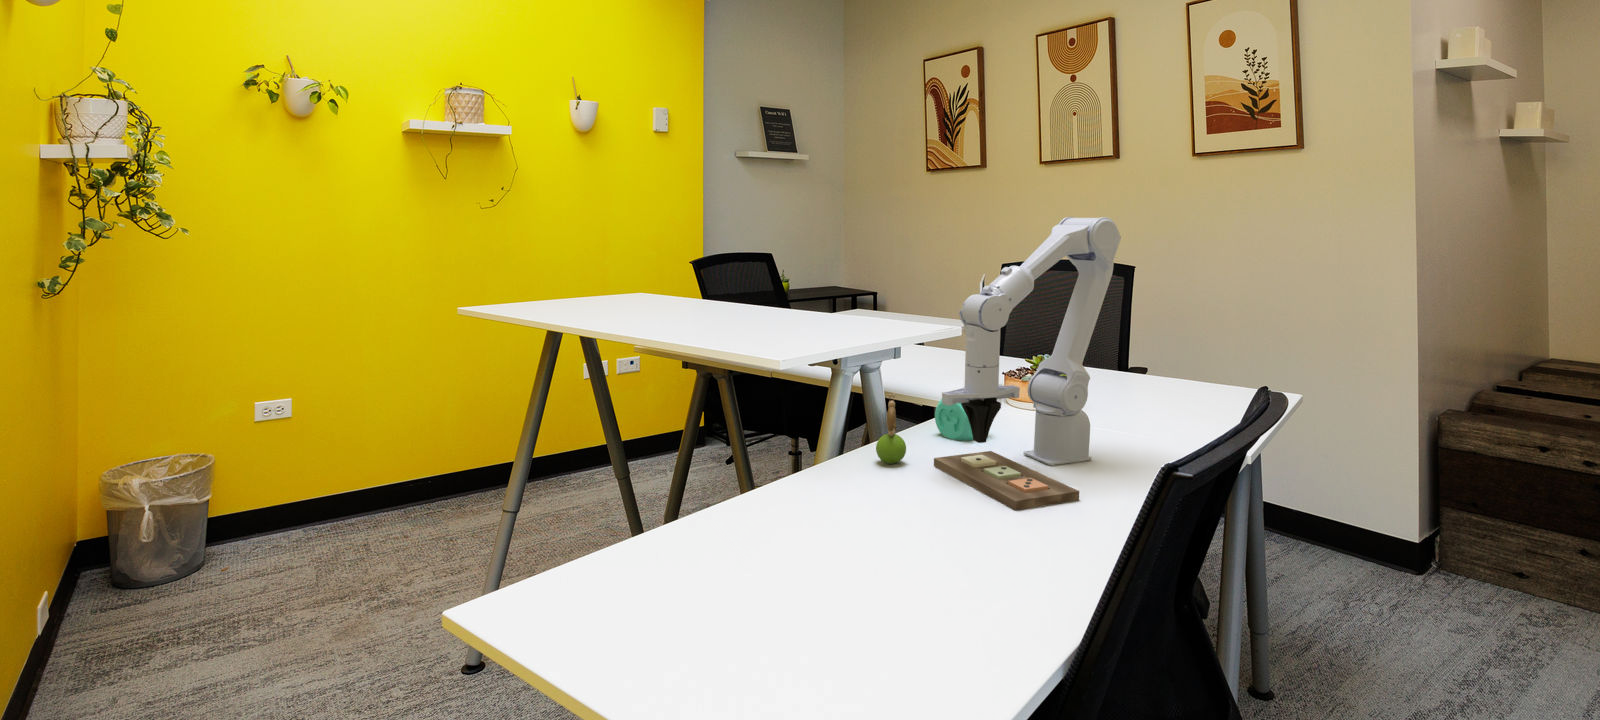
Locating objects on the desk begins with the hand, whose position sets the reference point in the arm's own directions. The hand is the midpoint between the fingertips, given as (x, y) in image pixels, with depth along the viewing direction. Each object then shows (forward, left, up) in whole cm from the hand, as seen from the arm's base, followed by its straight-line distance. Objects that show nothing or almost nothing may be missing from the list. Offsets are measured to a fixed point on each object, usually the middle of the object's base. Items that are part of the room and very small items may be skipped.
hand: (979, 441), depth 144 cm
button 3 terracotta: (0, +14, -6) cm, 15 cm away
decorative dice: (-10, -21, -6) cm, 24 cm away
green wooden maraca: (+12, -10, -6) cm, 17 cm away
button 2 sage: (0, +7, -5) cm, 9 cm away
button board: (0, +7, -5) cm, 9 cm away
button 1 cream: (0, 0, -6) cm, 6 cm away
